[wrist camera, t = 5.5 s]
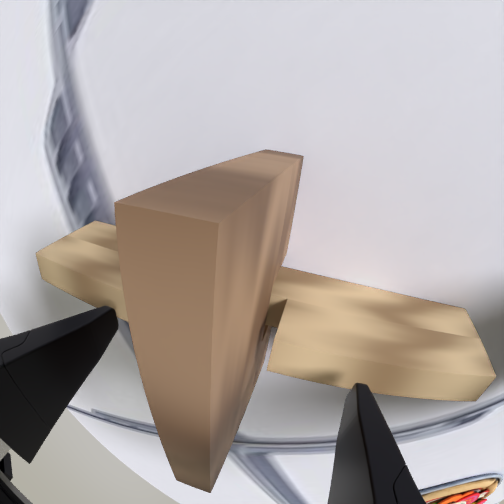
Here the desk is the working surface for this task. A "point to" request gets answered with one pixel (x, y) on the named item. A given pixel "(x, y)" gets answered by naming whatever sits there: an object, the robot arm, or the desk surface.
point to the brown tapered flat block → (204, 297)
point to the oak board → (316, 325)
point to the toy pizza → (463, 490)
